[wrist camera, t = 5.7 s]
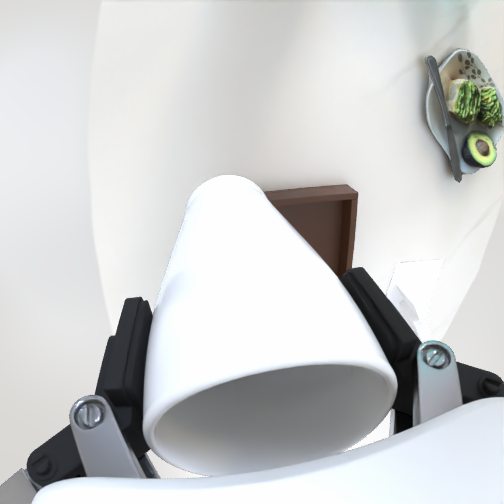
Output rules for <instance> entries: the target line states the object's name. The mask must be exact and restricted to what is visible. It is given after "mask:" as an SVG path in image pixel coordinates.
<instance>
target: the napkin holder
mask: <svg viewBox="0 0 504 504" xmlns="http://www.w3.org/2000/svg"><path fill="white" fill-rule="evenodd" d="M444 261H445V259H438V260H427V261H415V262H404V263H396V266H395V269H394V272H393V276H392V279H391V283H390V286H389V289H388V292H387V295H386V297H387V298H388V299H389V300H390V301H391V302H392V304H393V305H394V306H395V307H396V309H397V310H398V311H399V313H400V314H401V315H402V317H403V318H404V319H405V321H406V322H407V323H408V325H409V326H410V327H411V328H412V330H413V331H414V332H415V334H416V335H417V336H418V338H419V339H420V340H421V342H424V341H425V340H426V339H427V338H429V337H430V336H431V335H432V332H431V329H430V326H429V323H428V321H427V318H426V314H427V313H428V312H430V311H431V310H430V307H429V302H430V300H431V297H432V294H433V292H434V289H435V287H436V284H437V281H438V279H439V276H440V273H441V270H442V267H443V264H444Z"/></svg>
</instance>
